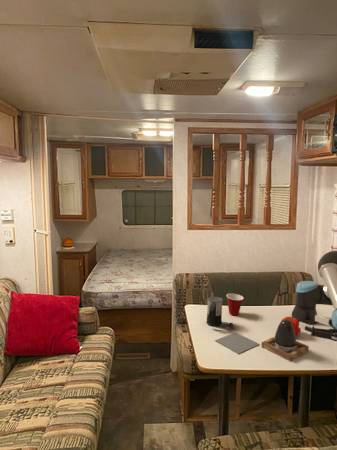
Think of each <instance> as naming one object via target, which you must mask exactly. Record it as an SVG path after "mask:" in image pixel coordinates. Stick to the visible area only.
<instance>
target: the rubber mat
mask: <svg viewBox="0 0 337 450" xmlns="http://www.w3.org/2000/svg"><path fill="white" fill-rule="evenodd" d="M214 342H216V343H218V344H220V345H221V346H223V347H225V348H227V349H228V350H230V351H232V352H234V353H236V354H237V355H240V354H242V353H245V352H247V351H250V349H253V348H255V347H257V346H260V343H258V342H256V341H254V340H252V339H250V338H248V337H247V336H244V335H242V334H240V333H238V332H236V331H234V332H232V333H230V334H227V335H225V336H223V337H219V338H217V339H215V340H214Z"/></svg>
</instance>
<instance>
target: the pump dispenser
mask: <svg viewBox="0 0 337 450" xmlns="http://www.w3.org/2000/svg"><path fill="white" fill-rule="evenodd" d="M274 337H275V339H274V341H275V343H274V344H275V347H276V348H278V349H280V350H282V351H284V352H286V353H288V352H292V351H293V350H294V349H295V348H296V347H295V345H296V341H297V338H296V337H297V335H295V331H294V327H293V325H292V323H291V322H290V321H289V320H282V319H281V320H280V322H279V324H278V325H277V328H276V331H275V334H274Z"/></svg>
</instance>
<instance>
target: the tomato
mask: <svg viewBox="0 0 337 450" xmlns="http://www.w3.org/2000/svg"><path fill="white" fill-rule="evenodd" d="M282 320H289V321H290V322H291V323H292V325H293V327H294V331H295V335H296V336H298V335H300V333H301V330H302V329H301V328H299V321H298V320H297V319H296V318H292V317H291V316H285V317H284V318H282V319H281V321H282Z"/></svg>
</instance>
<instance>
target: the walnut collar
mask: <svg viewBox="0 0 337 450" xmlns="http://www.w3.org/2000/svg"><path fill="white" fill-rule="evenodd" d="M274 339H275V336H273V337H270V338H268V339H266V340H264V341H261V348H263V349H265V350H267V351H269V352H270V353H273V354H275V355H277V356H278V357H280V358H282V359H284V360H287V361H288V362H292V361H293V360H295V359H296V358H299V357H300V356H302V355H303V354H306V353H307V352H309V348H310V346H309V345H308V344H305V343H303V342H300V341H298V340H296V345H295V347H294V348H297V349H296V350H294V351H291V352H290V353H288V352H286V351H282V350H280V349H279V348H278V347H277V346H275V345H274V344H275V341H274ZM273 345H274V346H273Z"/></svg>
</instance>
